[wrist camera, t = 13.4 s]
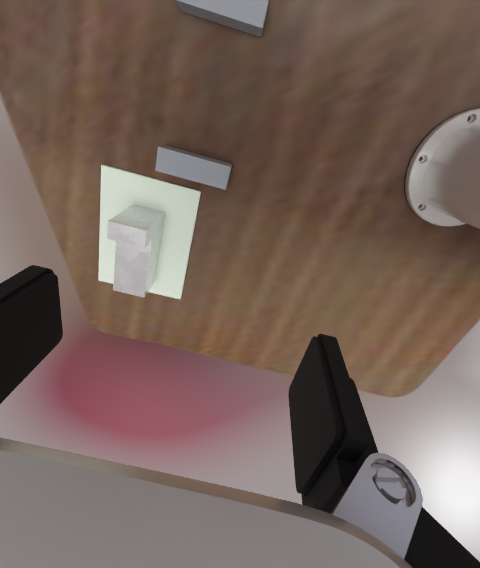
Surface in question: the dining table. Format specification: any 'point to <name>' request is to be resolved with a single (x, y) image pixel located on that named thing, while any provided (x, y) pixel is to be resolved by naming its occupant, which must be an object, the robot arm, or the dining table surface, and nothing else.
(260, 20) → the vise jaws
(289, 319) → the dining table surface
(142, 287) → the white pedestal stand
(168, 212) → the mat
